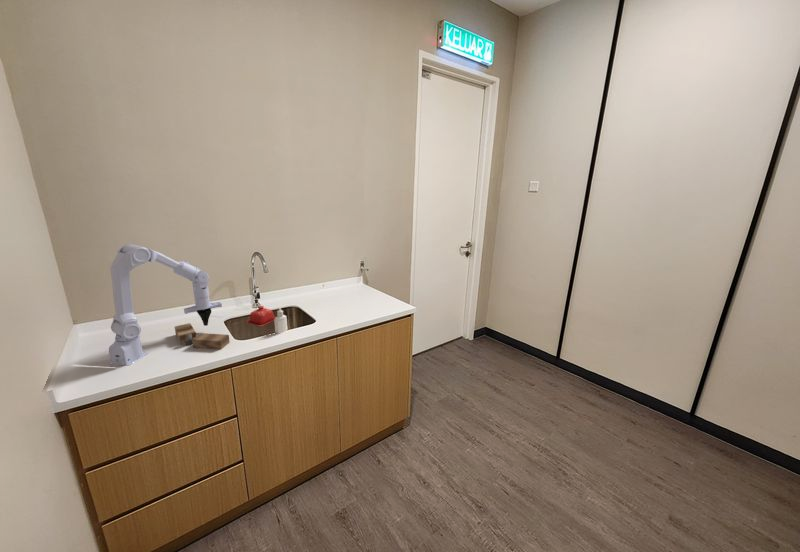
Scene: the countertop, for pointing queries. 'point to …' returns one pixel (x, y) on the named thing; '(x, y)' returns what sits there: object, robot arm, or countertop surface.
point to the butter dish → (261, 316)
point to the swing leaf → (185, 334)
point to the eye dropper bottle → (280, 322)
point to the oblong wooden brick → (210, 341)
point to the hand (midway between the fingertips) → (205, 324)
